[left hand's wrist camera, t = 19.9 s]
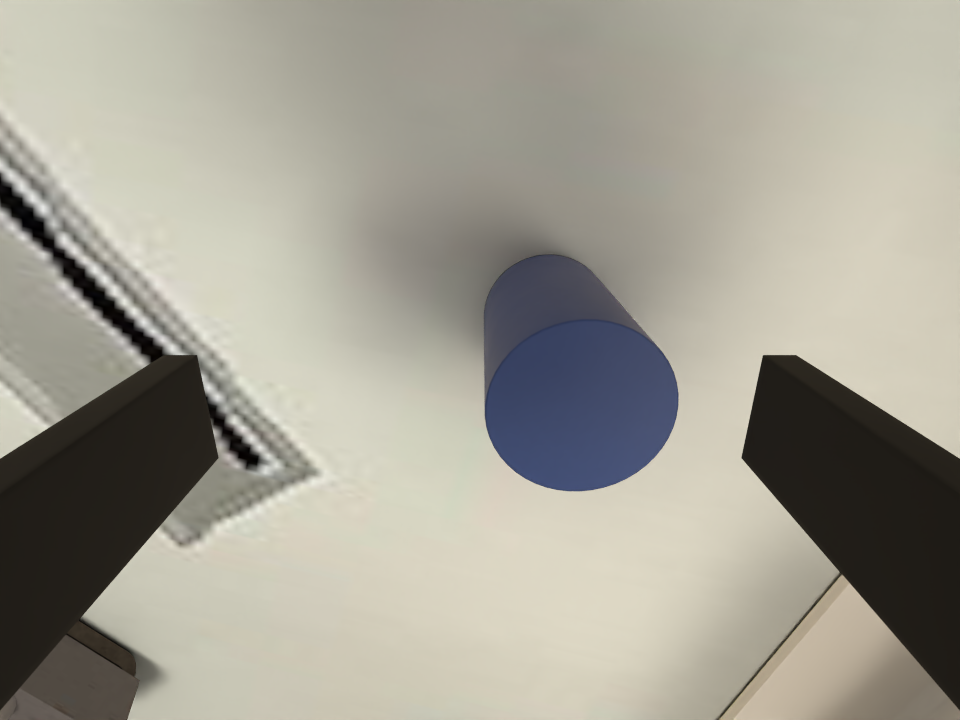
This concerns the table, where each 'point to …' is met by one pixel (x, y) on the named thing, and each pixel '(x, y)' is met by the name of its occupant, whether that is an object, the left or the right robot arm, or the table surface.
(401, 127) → the table surface
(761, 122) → the table surface
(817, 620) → the tablet stand
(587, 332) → the canister
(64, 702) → the toy
